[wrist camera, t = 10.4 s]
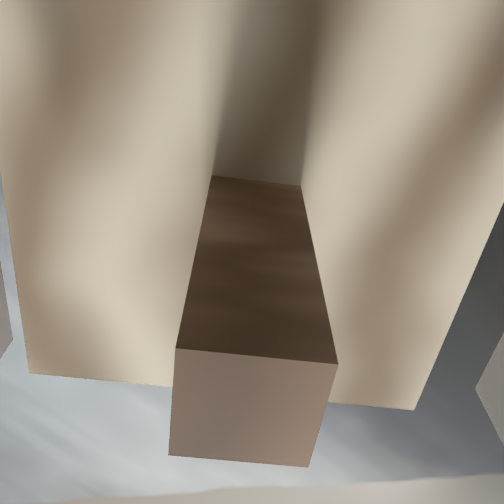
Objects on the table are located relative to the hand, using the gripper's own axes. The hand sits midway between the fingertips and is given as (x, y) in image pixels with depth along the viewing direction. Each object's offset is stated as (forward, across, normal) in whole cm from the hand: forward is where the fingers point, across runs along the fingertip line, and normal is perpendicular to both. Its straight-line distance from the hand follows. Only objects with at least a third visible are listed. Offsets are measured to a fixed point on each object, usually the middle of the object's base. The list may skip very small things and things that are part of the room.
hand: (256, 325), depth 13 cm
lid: (+7, 0, 0) cm, 7 cm away
